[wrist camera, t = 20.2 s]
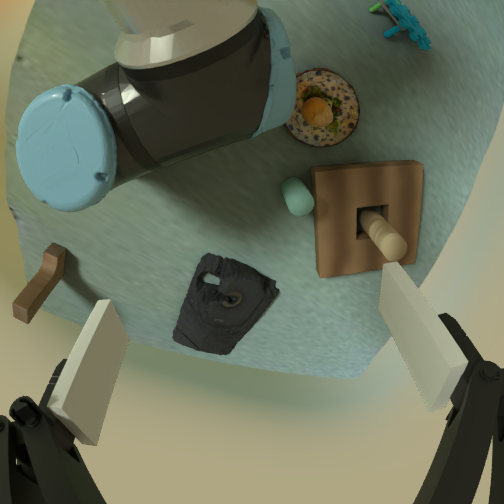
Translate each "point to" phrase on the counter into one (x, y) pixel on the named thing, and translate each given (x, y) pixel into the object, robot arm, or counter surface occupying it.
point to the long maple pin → (382, 233)
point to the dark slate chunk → (222, 305)
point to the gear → (403, 22)
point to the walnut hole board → (363, 195)
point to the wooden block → (40, 284)
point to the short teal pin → (297, 196)
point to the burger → (323, 109)
